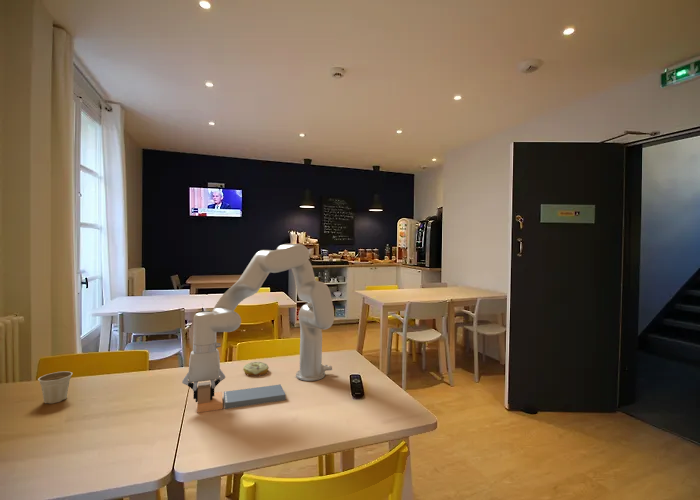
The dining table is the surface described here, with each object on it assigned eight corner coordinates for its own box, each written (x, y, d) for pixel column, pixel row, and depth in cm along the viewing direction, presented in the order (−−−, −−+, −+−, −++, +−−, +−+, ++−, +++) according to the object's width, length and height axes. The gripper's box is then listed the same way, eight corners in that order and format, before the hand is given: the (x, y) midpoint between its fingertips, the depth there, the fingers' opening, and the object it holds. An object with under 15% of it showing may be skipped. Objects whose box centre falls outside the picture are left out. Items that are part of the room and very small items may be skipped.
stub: (221, 397, 129) (221, 378, 129) (222, 408, 120) (222, 388, 120) (198, 400, 126) (198, 380, 126) (197, 412, 117) (197, 391, 117)
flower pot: (32, 402, 122) (32, 377, 122) (64, 392, 131) (64, 369, 131) (45, 408, 118) (45, 383, 118) (77, 398, 126) (77, 374, 126)
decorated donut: (257, 379, 148) (257, 370, 148) (238, 374, 153) (238, 366, 153) (272, 371, 158) (273, 362, 158) (254, 367, 162) (254, 359, 162)
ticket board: (280, 389, 137) (280, 384, 137) (285, 399, 128) (285, 394, 128) (223, 397, 129) (223, 391, 129) (224, 408, 120) (225, 402, 120)
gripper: (229, 342, 129) (228, 392, 129) (179, 346, 122) (178, 398, 123) (230, 348, 122) (229, 400, 122) (177, 353, 115) (176, 407, 116)
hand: (203, 399), depth 122 cm, fingers closed on stub, 4 cm apart
